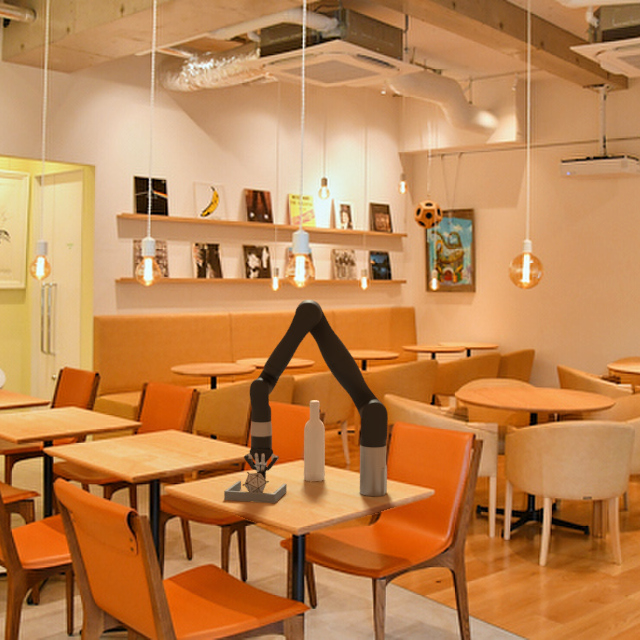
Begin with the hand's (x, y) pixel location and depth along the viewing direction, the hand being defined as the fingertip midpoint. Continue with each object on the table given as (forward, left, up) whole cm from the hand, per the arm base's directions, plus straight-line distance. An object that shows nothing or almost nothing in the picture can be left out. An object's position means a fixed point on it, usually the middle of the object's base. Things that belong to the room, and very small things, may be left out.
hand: (261, 481), depth 300 cm
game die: (+1, +5, -4) cm, 6 cm away
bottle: (-14, -22, -4) cm, 26 cm away
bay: (0, +7, -4) cm, 7 cm away
